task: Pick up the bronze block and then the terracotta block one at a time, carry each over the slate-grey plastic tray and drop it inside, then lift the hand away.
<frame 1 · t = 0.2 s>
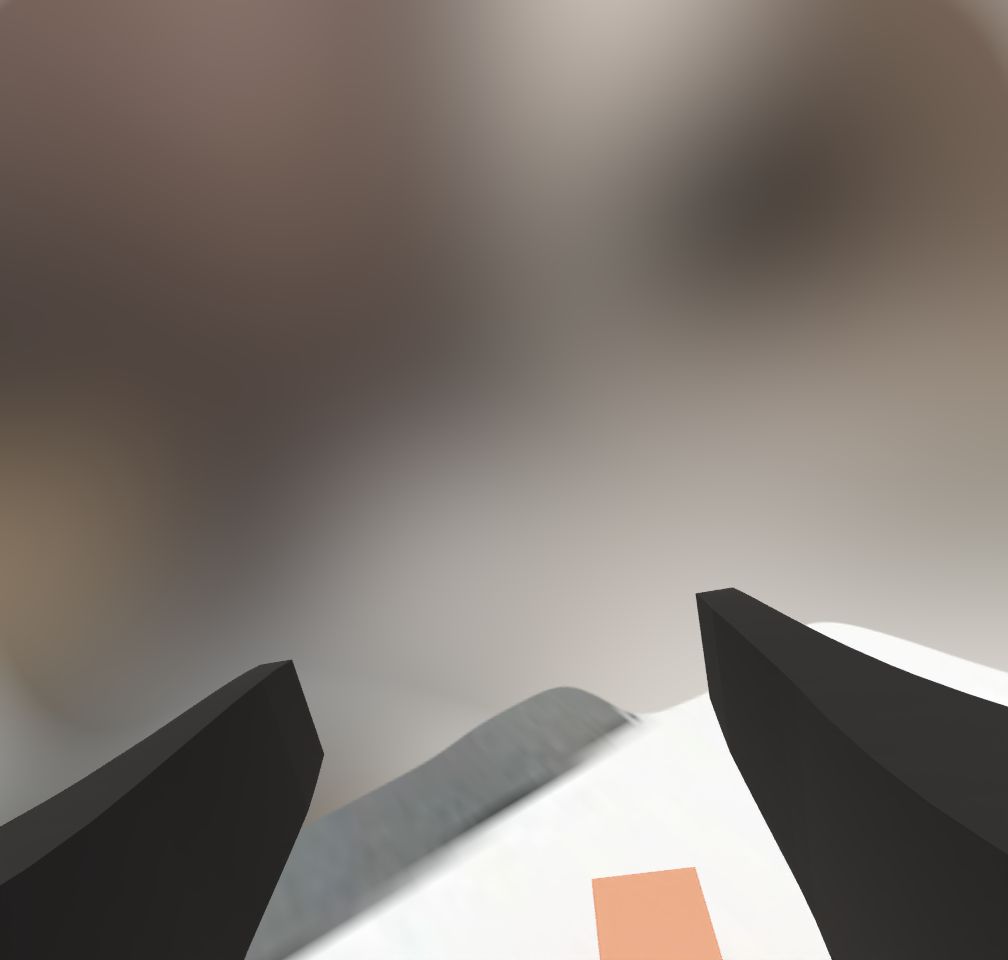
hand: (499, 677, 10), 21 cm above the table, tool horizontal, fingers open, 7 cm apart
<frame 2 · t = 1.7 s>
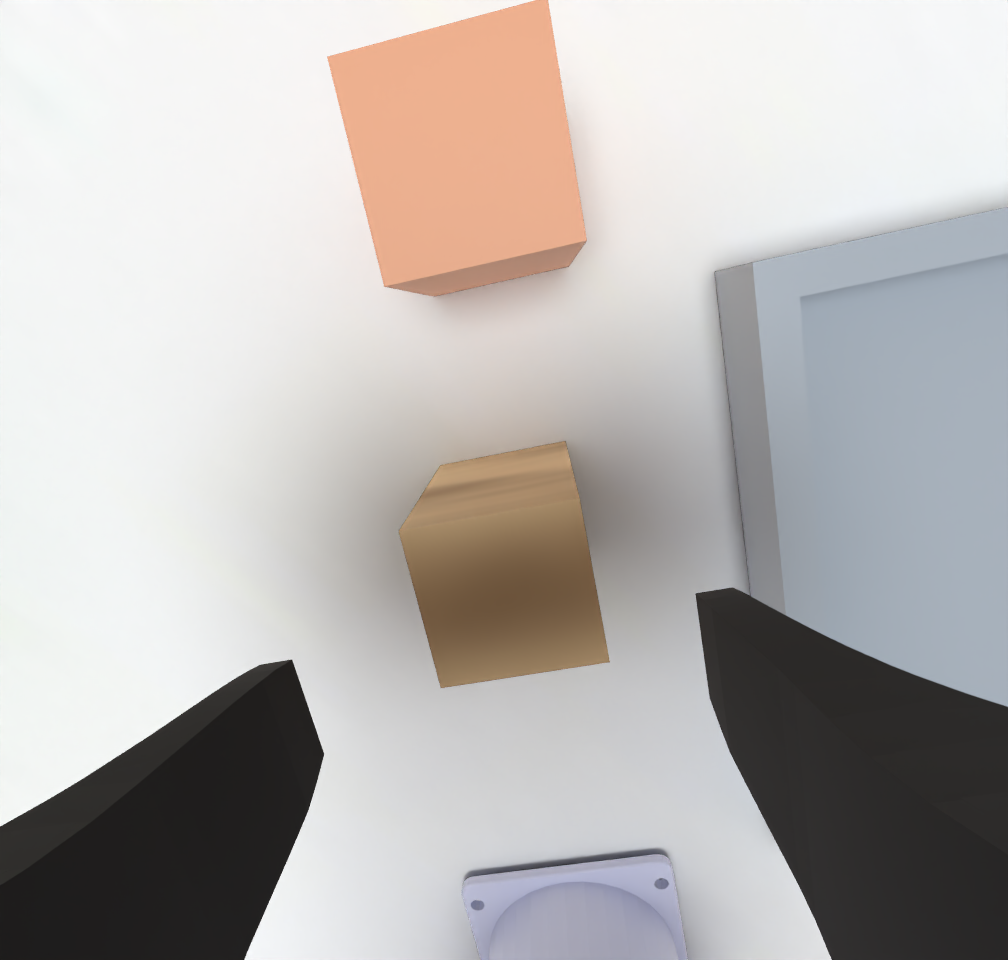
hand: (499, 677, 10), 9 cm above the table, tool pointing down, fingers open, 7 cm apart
bronze block: (515, 512, 19), on the table
terracotta block: (486, 208, 17), on the table
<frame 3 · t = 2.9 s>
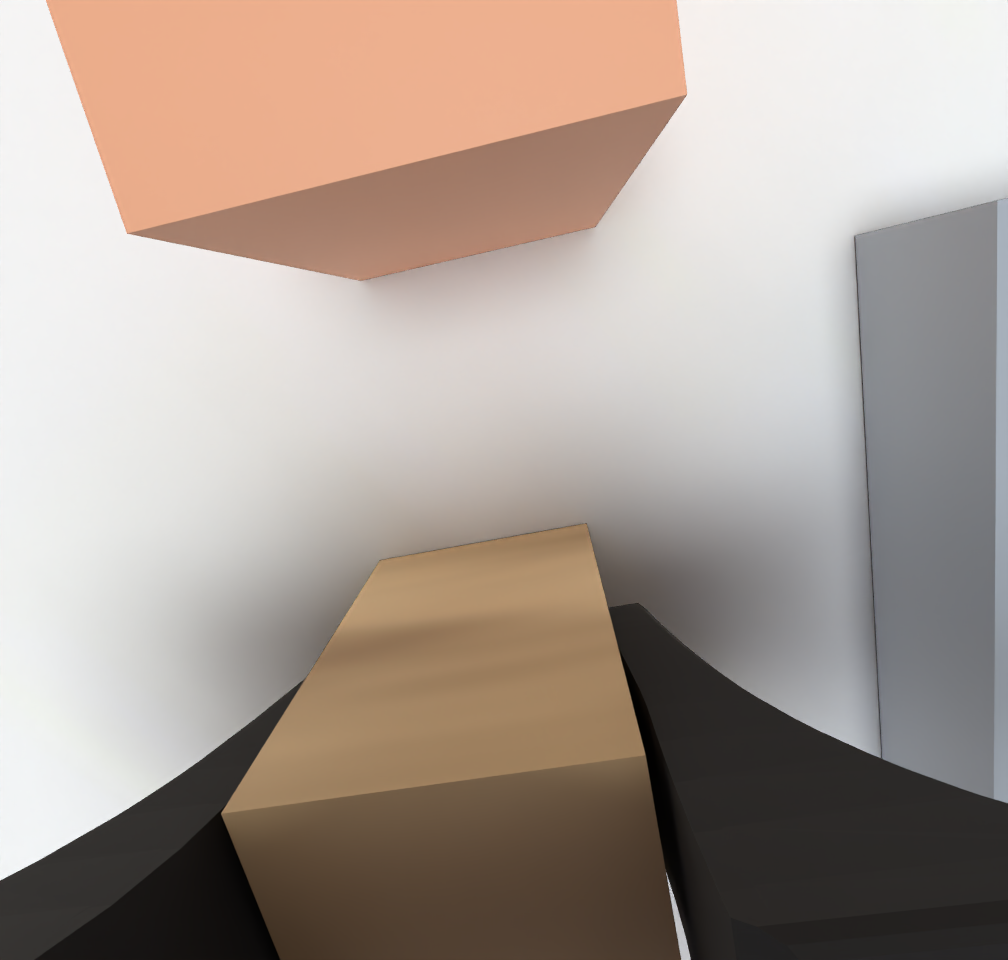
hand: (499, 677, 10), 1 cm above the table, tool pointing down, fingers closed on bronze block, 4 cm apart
bronze block: (503, 635, 12), on the table, touching gripper
terracotta block: (448, 122, 9), on the table
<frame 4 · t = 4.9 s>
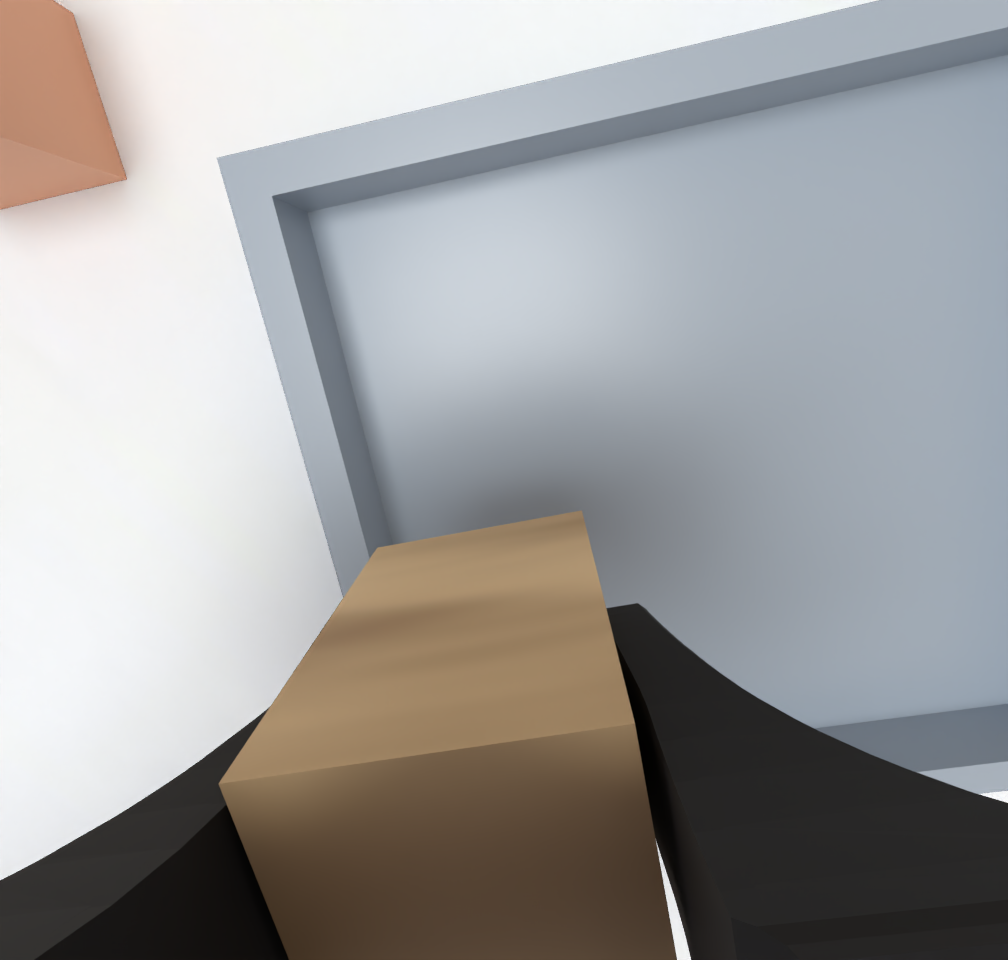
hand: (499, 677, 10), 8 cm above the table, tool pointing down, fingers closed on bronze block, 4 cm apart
bronze block: (499, 622, 12), point 7 cm above the table, touching gripper
terracotta block: (33, 116, 16), on the table
slate tray: (683, 471, 18), on the table
when the fingers open (4 cm above the table, at t = 6.8 s): bronze block drops 2 cm, resting on slate tray.
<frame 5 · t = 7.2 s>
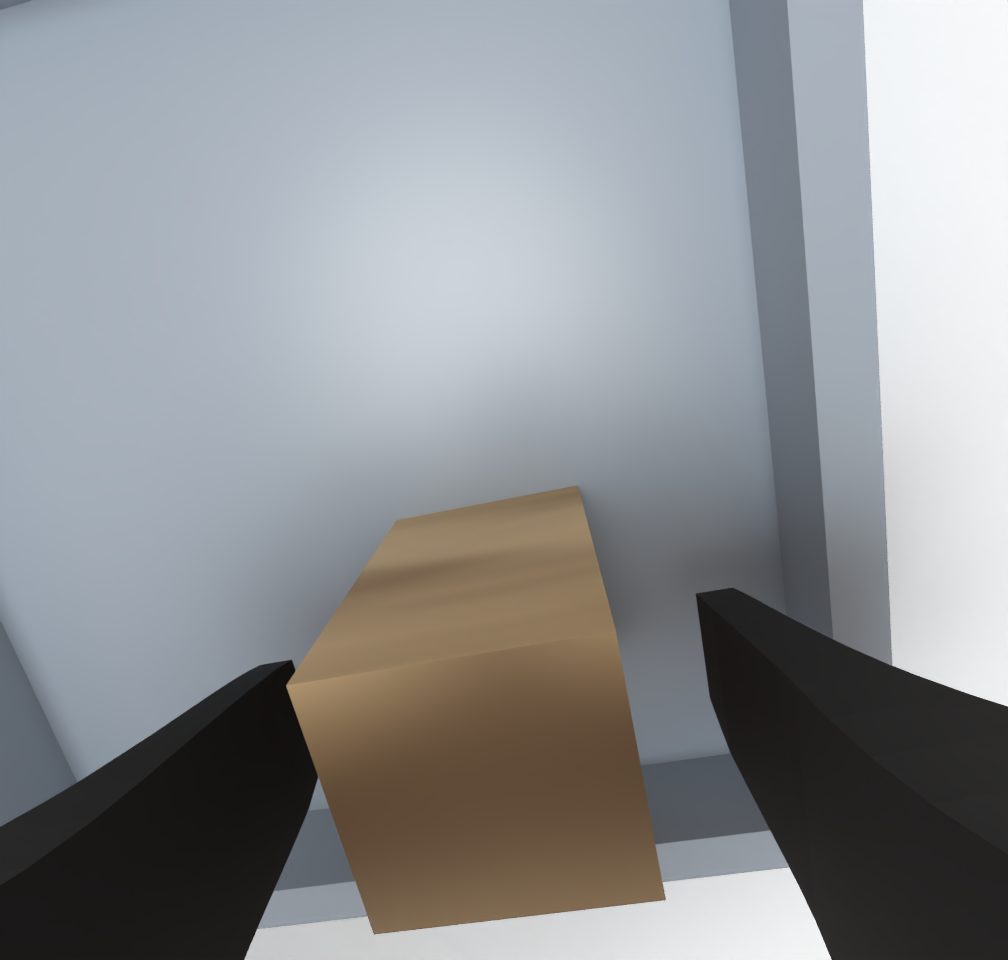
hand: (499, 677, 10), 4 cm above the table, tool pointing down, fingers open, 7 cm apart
bronze block: (505, 586, 13), point 1 cm above the table, touching slate tray
slate tray: (342, 443, 13), on the table
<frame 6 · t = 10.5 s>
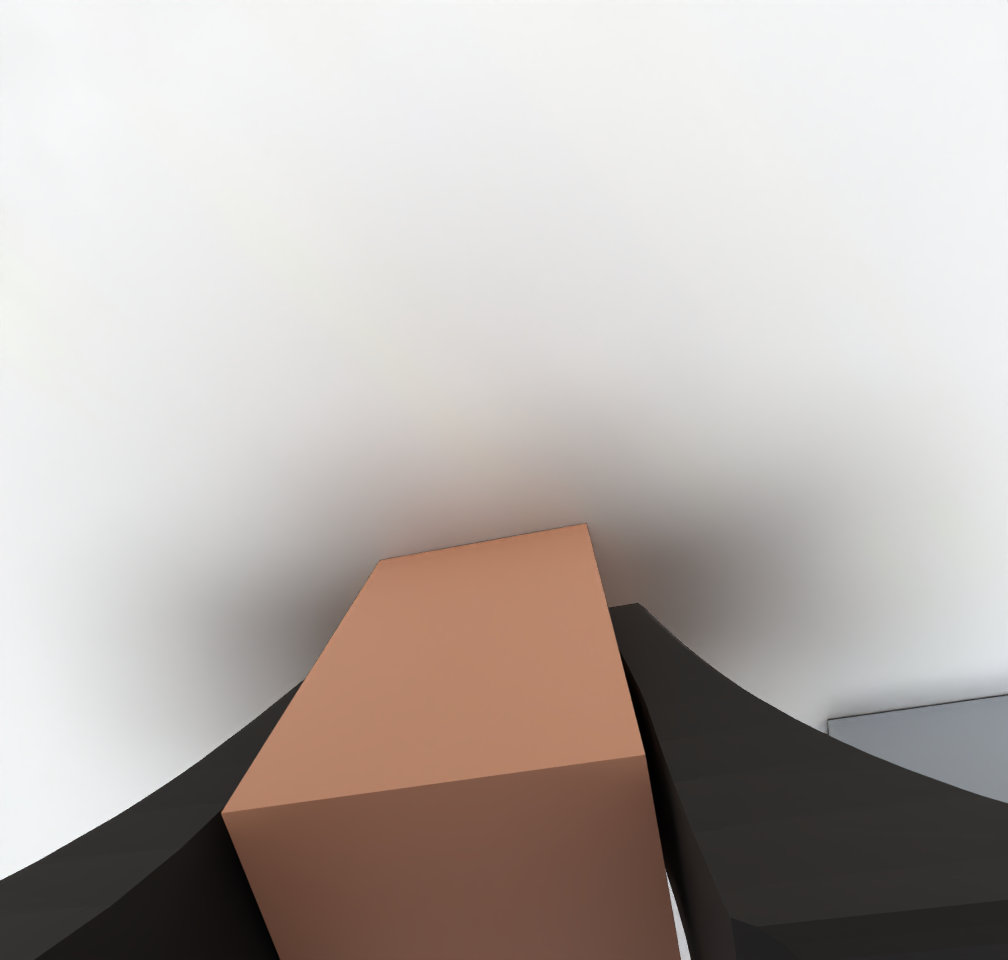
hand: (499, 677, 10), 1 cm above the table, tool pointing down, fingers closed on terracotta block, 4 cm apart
terracotta block: (502, 635, 12), on the table, touching gripper
when the fingers open (4 cm above the table, at t = 13.9 s): terracotta block drops 2 cm, resting on slate tray.
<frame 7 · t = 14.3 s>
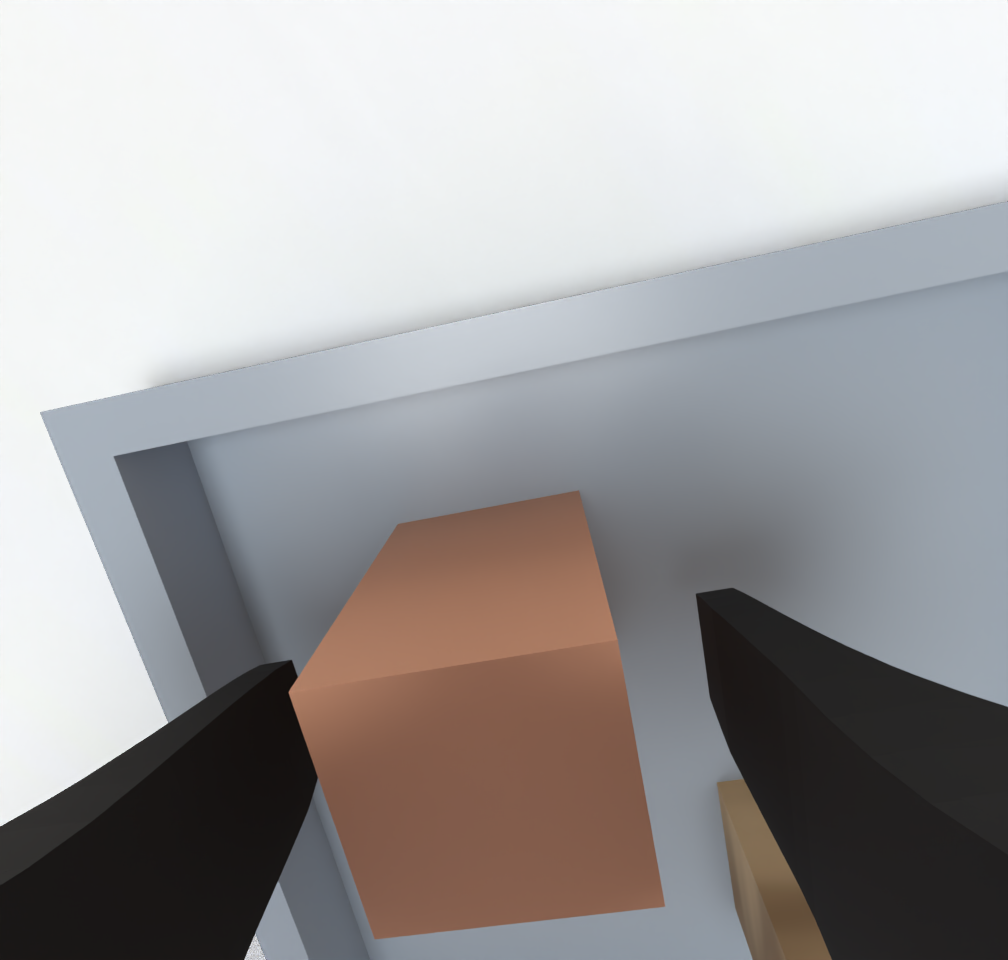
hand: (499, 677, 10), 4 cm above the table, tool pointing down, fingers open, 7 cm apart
bronze block: (808, 837, 15), point 1 cm above the table, touching slate tray
terracotta block: (505, 590, 13), point 1 cm above the table, touching slate tray
slate tray: (658, 705, 15), on the table
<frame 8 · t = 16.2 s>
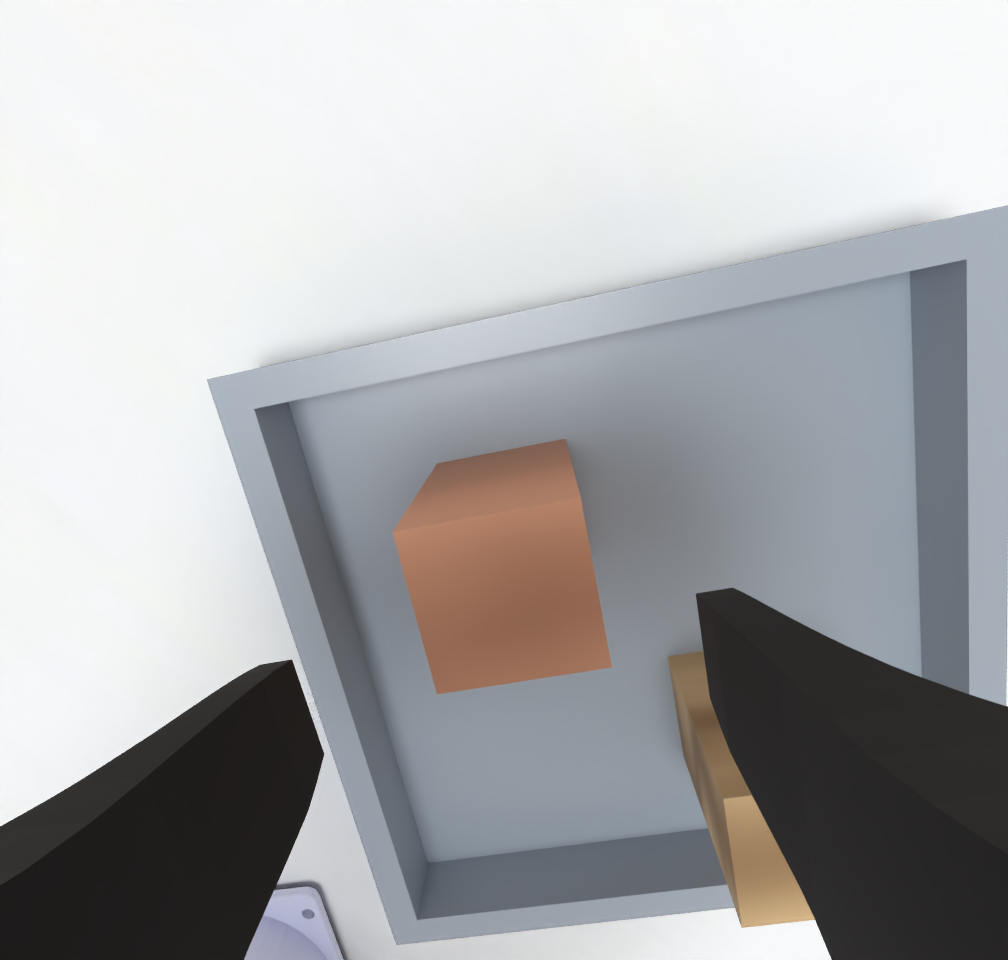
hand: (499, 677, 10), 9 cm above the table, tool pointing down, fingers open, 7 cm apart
bronze block: (735, 698, 20), point 1 cm above the table, touching slate tray
terracotta block: (513, 512, 19), point 1 cm above the table, touching slate tray
slate tray: (625, 602, 20), on the table
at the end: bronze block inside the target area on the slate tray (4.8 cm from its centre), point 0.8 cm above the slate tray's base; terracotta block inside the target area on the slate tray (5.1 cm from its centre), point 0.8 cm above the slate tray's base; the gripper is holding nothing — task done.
